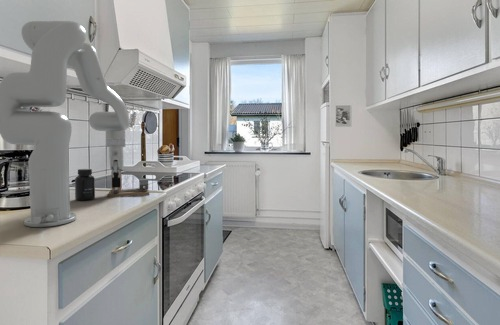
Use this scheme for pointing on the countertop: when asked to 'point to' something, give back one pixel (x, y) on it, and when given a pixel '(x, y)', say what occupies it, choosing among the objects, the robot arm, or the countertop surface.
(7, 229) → the countertop surface
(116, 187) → the sliding leg
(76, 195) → the supplement bottle
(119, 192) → the gauge board
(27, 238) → the countertop surface
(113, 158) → the robot arm
